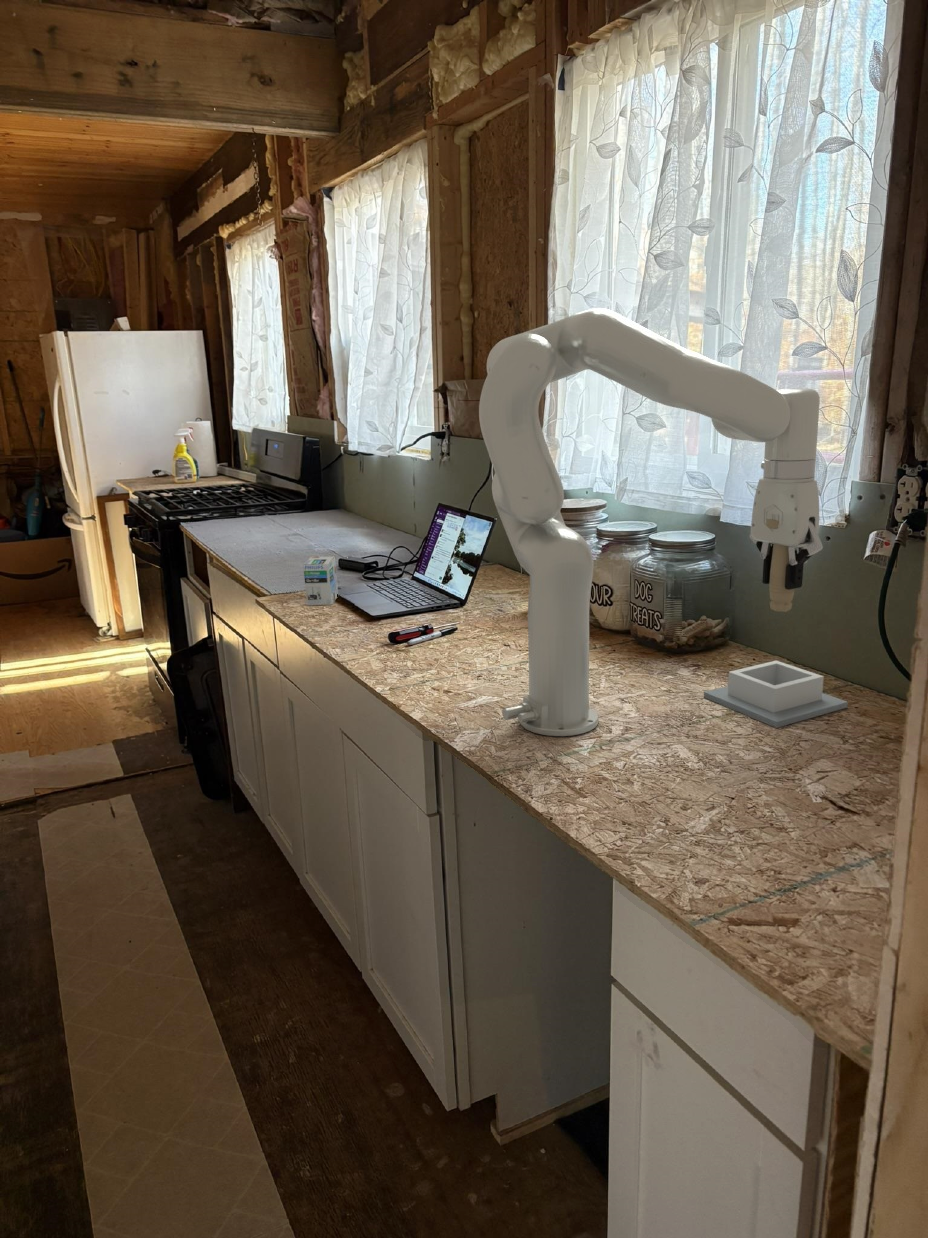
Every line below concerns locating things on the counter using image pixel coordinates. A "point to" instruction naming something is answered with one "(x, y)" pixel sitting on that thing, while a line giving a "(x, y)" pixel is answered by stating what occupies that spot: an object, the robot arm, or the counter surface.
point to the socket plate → (776, 694)
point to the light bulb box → (320, 580)
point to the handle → (779, 575)
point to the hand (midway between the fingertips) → (782, 584)
